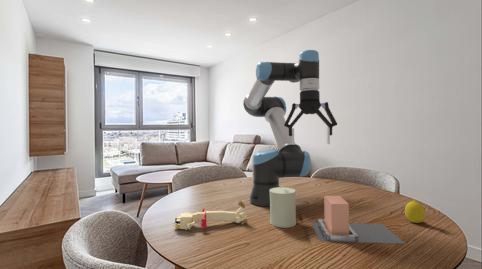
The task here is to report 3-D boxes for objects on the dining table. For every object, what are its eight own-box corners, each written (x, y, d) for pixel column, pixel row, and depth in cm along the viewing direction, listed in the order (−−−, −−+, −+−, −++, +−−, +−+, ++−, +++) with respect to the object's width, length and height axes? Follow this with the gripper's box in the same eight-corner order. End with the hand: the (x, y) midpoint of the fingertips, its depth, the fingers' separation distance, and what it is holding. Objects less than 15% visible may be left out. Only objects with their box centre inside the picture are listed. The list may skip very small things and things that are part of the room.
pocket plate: (319, 243, 70) (319, 236, 70) (311, 224, 84) (311, 218, 84) (405, 246, 67) (405, 238, 67) (382, 226, 81) (382, 219, 81)
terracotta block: (324, 225, 81) (324, 195, 81) (340, 225, 80) (339, 195, 80) (331, 237, 72) (331, 203, 72) (349, 238, 72) (348, 204, 71)
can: (280, 230, 80) (279, 193, 80) (264, 220, 88) (264, 187, 88) (301, 224, 85) (301, 189, 84) (285, 216, 93) (284, 184, 92)
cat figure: (241, 220, 93) (173, 222, 87) (242, 197, 93) (174, 197, 87) (248, 230, 84) (172, 233, 78) (249, 205, 84) (174, 206, 78)
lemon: (426, 228, 79) (425, 204, 79) (405, 225, 82) (405, 201, 82) (424, 223, 83) (424, 199, 83) (404, 220, 86) (404, 197, 86)
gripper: (278, 90, 95) (279, 145, 95) (345, 87, 92) (345, 144, 92) (277, 93, 102) (278, 144, 103) (339, 91, 99) (340, 143, 100)
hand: (310, 144), depth 98 cm, fingers open, 13 cm apart
